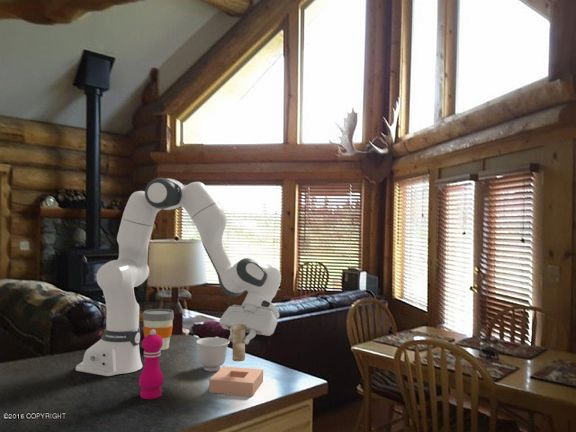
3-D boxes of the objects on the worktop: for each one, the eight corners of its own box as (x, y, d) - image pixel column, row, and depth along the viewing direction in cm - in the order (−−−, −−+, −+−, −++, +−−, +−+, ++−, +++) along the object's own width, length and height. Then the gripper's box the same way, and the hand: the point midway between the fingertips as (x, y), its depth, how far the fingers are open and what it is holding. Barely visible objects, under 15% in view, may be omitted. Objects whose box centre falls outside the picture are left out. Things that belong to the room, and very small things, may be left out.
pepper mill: (156, 401, 142) (158, 332, 142) (133, 398, 143) (135, 331, 143) (167, 392, 149) (169, 327, 149) (145, 390, 150) (147, 326, 150)
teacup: (232, 362, 182) (233, 335, 182) (226, 374, 167) (227, 346, 167) (200, 361, 182) (201, 334, 182) (191, 373, 167) (192, 344, 168)
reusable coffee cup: (148, 343, 207) (149, 308, 207) (177, 344, 205) (178, 309, 206) (136, 350, 194) (137, 313, 194) (166, 352, 193) (167, 315, 193)
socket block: (209, 392, 150) (209, 379, 150) (222, 378, 164) (223, 366, 164) (252, 396, 147) (253, 383, 147) (263, 381, 161) (263, 369, 161)
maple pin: (230, 361, 154) (231, 326, 154) (234, 357, 158) (234, 324, 158) (242, 361, 153) (243, 327, 153) (246, 358, 157) (246, 324, 157)
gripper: (226, 298, 167) (208, 332, 159) (277, 304, 157) (260, 340, 148) (234, 309, 171) (216, 342, 162) (283, 315, 161) (267, 351, 152)
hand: (237, 341), depth 155 cm, fingers closed on maple pin, 4 cm apart
